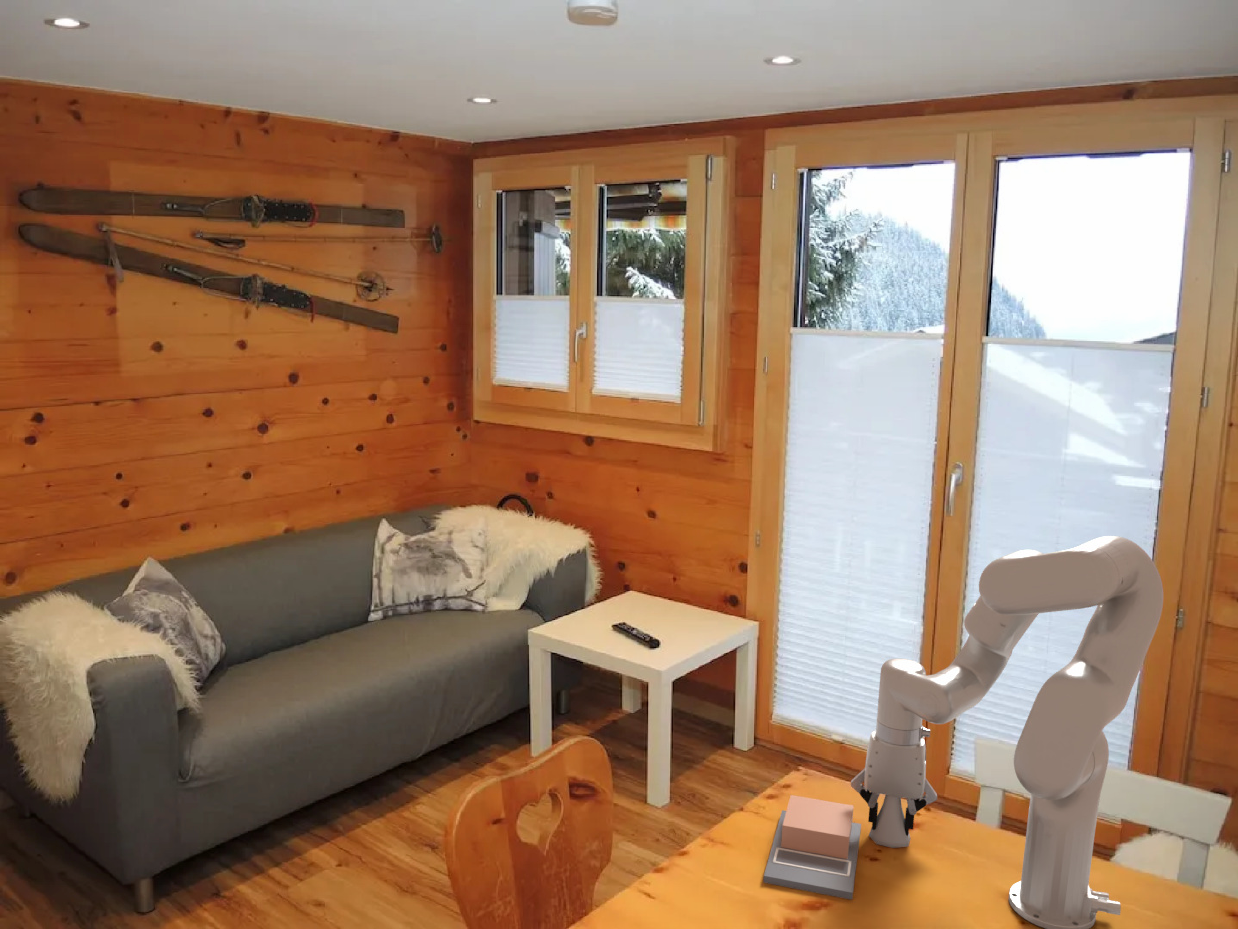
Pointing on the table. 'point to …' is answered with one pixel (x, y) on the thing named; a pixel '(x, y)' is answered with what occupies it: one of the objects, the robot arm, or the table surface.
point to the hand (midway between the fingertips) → (890, 828)
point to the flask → (890, 824)
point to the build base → (812, 862)
